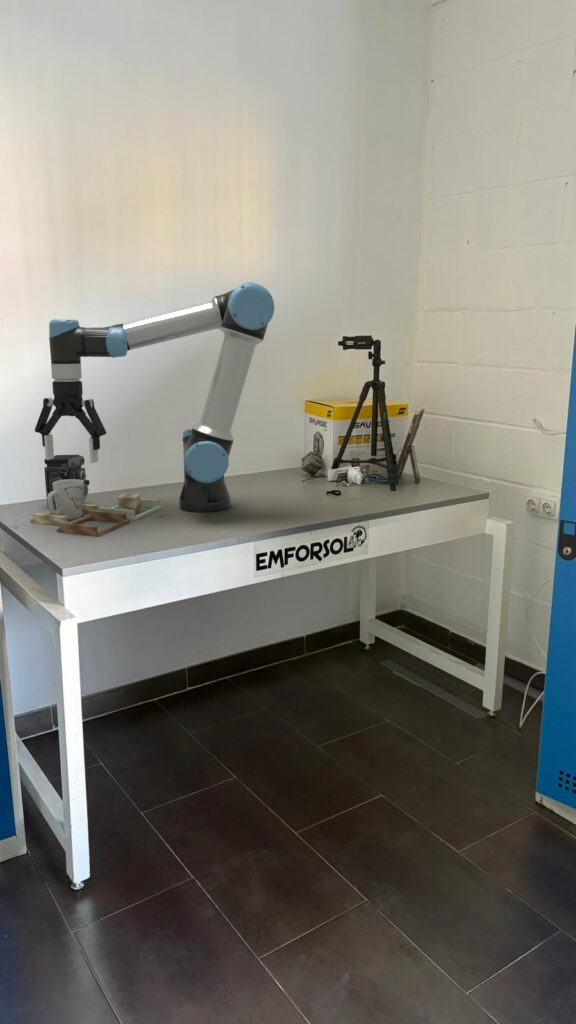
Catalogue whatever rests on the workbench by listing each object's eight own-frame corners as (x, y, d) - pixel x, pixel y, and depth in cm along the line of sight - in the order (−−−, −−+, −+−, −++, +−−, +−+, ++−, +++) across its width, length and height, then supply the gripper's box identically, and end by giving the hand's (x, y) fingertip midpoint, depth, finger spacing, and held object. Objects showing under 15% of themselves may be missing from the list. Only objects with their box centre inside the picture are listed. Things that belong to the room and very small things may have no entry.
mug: (60, 524, 208) (57, 488, 205) (39, 520, 212) (36, 484, 210) (92, 516, 217) (90, 481, 215) (71, 512, 221) (69, 478, 219)
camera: (78, 511, 223) (75, 460, 219) (45, 509, 225) (41, 458, 221) (94, 503, 232) (91, 454, 229) (62, 501, 234) (58, 452, 231)
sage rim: (161, 508, 226) (161, 500, 225) (135, 520, 212) (135, 511, 212) (124, 505, 230) (124, 496, 229) (96, 516, 217) (96, 507, 216)
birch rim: (100, 514, 219) (100, 505, 218) (69, 526, 206) (69, 517, 205) (63, 510, 223) (62, 502, 223) (30, 522, 210) (29, 513, 209)
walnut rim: (129, 523, 209) (128, 514, 209) (98, 536, 196) (98, 527, 195) (89, 519, 213) (89, 510, 213) (57, 532, 200) (56, 522, 200)
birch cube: (140, 510, 223) (140, 493, 222) (136, 515, 218) (135, 497, 217) (124, 510, 224) (123, 493, 223) (118, 514, 219) (117, 497, 218)
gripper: (116, 380, 201) (120, 460, 206) (34, 377, 208) (40, 455, 213) (101, 382, 194) (105, 465, 199) (17, 379, 201) (23, 460, 206)
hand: (71, 460), depth 206 cm, fingers open, 13 cm apart
